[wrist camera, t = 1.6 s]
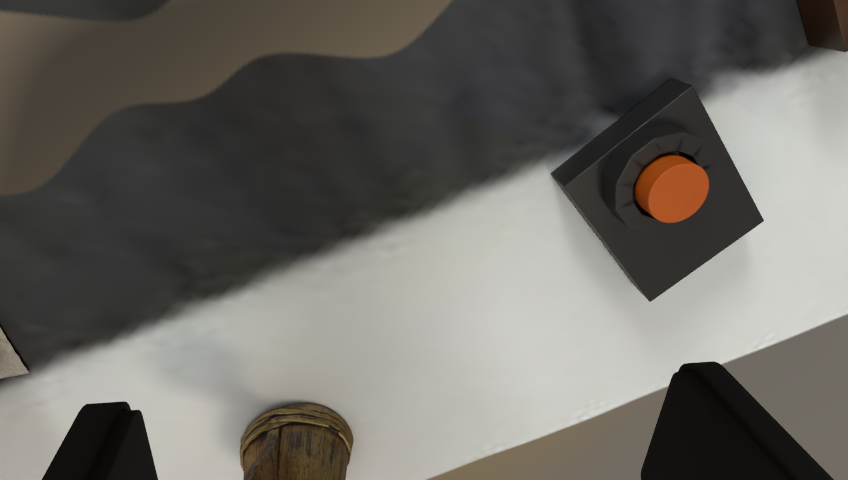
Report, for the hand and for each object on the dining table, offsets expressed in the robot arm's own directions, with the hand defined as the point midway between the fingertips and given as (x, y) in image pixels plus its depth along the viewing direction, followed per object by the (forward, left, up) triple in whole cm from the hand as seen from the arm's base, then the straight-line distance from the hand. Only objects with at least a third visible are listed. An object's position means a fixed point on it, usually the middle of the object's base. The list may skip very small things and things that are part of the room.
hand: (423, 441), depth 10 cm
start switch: (+8, +18, -23) cm, 31 cm away
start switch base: (+11, +20, -27) cm, 35 cm away
